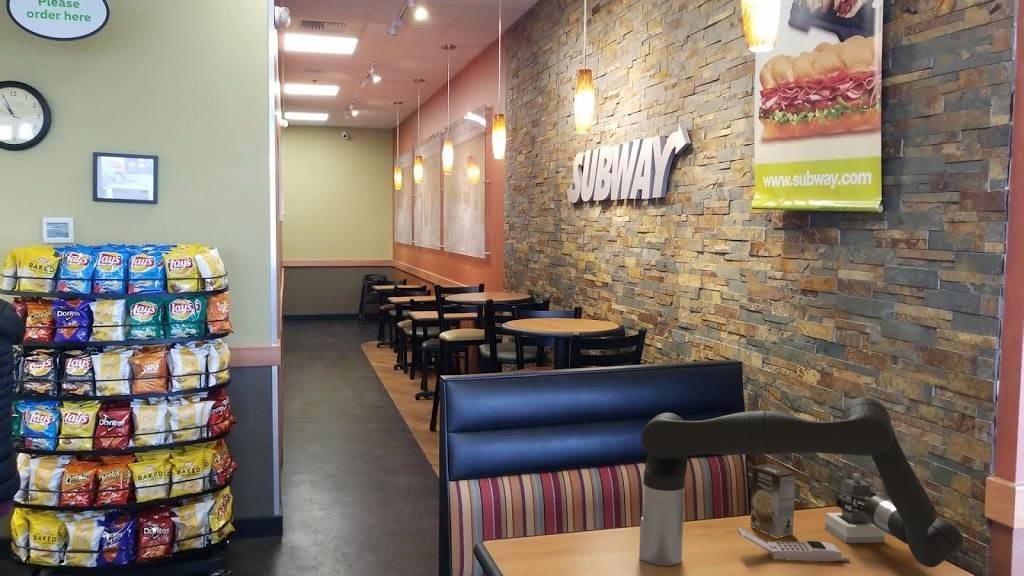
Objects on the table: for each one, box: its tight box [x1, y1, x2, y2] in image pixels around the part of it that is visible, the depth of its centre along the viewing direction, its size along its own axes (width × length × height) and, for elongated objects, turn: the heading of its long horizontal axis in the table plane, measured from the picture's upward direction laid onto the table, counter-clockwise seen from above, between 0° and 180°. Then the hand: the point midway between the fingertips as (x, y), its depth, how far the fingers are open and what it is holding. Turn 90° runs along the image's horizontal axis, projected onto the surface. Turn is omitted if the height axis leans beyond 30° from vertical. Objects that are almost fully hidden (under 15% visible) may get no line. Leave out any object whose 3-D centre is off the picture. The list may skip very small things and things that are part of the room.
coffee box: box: [749, 463, 797, 537], centre depth 201 cm, size 9×6×16 cm
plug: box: [841, 473, 871, 524], centre depth 199 cm, size 4×4×14 cm
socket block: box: [824, 512, 886, 544], centre depth 199 cm, size 10×10×4 cm
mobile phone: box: [736, 526, 851, 563], centre depth 185 cm, size 6×6×25 cm
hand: (852, 493), depth 201 cm, fingers open, 8 cm apart
